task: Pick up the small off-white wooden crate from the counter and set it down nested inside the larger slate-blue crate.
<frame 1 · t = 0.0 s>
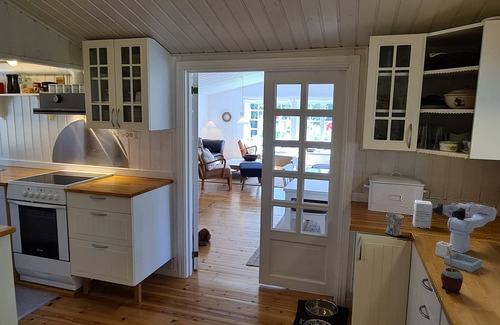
hand: (443, 212, 157), 22 cm above the worktop, tool horizontal, fingers open, 7 cm apart
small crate: (443, 255, 162), on the worktop
mug: (393, 235, 190), on the worktop
mate gourd: (449, 290, 129), on the worktop
supplement box: (420, 226, 208), on the worktop
big crate: (462, 265, 152), on the worktop
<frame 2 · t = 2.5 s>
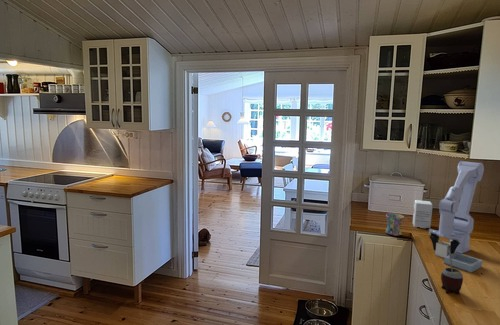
hand: (443, 252, 162), 2 cm above the worktop, tool pointing down, fingers open, 7 cm apart
nothing on the worktop moved.
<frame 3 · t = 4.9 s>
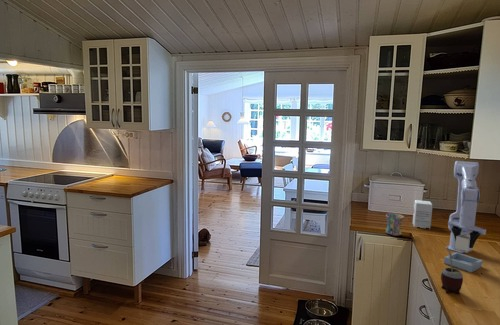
hand: (464, 245, 151), 9 cm above the worktop, tool pointing down, fingers closed on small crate, 5 cm apart
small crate: (463, 249, 151), point 7 cm above the worktop, touching gripper
everything else where it was.
when the fingers open (4 cm above the worktop, at t = 6.8 s): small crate drops 1 cm, resting on big crate.
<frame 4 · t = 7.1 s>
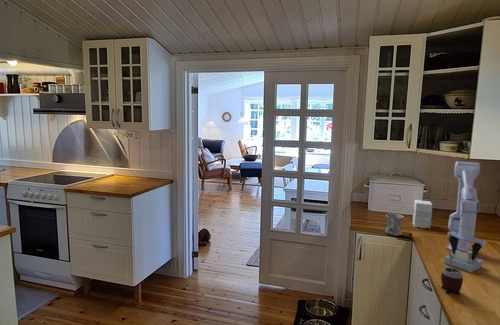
hand: (463, 256, 152), 4 cm above the worktop, tool pointing down, fingers open, 7 cm apart
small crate: (462, 264, 152), point 1 cm above the worktop, touching big crate
everything else where it was.
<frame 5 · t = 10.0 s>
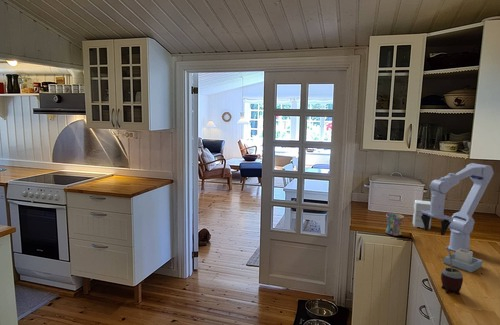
hand: (434, 232, 165), 10 cm above the worktop, tool pointing down, fingers open, 7 cm apart
nothing on the worktop moved.
at the end: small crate 0.3 cm off-centre on the big crate, point 0.6 cm above the big crate's base; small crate tilted 0°; the gripper is holding nothing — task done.
